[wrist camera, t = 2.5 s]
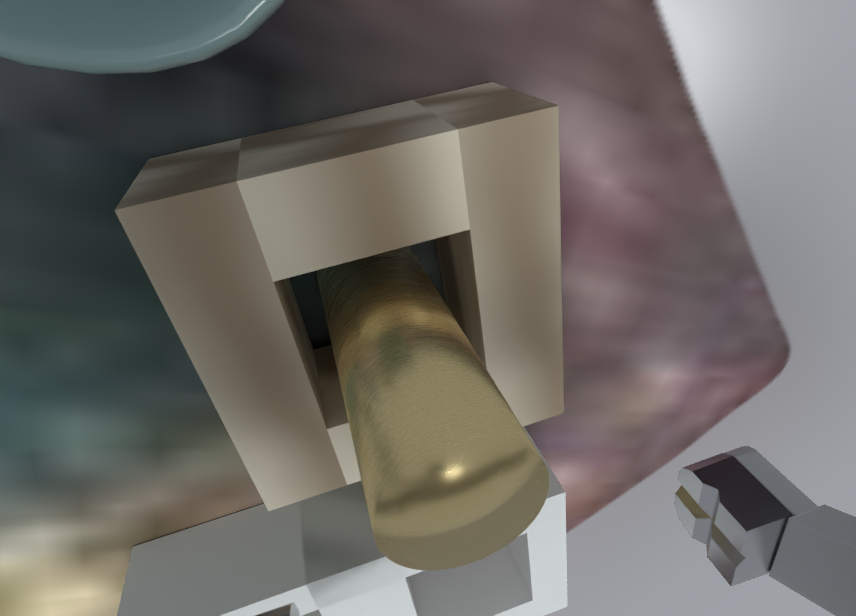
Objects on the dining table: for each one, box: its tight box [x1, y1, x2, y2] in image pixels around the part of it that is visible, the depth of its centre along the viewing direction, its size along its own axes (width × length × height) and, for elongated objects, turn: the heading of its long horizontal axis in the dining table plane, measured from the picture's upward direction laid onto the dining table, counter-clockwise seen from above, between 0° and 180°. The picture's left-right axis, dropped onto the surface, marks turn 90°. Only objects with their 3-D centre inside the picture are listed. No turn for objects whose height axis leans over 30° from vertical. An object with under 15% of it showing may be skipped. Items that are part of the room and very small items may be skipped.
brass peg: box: [316, 246, 549, 571], centre depth 16 cm, size 4×4×12 cm
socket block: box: [115, 82, 564, 511], centre depth 19 cm, size 12×12×5 cm
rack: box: [117, 427, 567, 616], centre depth 27 cm, size 20×10×5 cm, turn 99°
